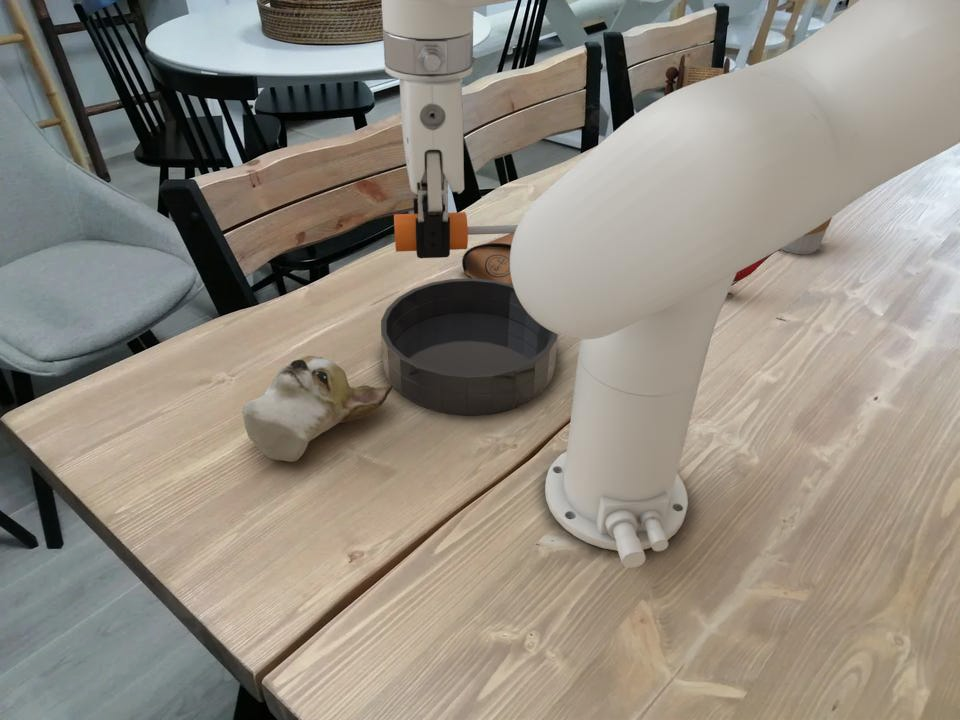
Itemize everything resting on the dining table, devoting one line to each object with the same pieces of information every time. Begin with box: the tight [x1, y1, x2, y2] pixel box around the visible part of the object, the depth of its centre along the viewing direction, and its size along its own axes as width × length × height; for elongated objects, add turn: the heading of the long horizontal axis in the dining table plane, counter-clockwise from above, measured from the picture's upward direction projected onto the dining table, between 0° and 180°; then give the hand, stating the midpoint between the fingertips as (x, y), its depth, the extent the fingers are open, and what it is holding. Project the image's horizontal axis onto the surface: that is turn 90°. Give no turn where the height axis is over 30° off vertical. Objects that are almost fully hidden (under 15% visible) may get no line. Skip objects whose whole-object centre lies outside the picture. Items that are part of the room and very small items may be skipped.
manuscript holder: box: [663, 54, 731, 96], centre depth 120 cm, size 15×15×20 cm
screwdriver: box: [393, 211, 518, 253], centre depth 73 cm, size 14×4×4 cm, turn 97°
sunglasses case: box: [461, 233, 515, 285], centre depth 101 cm, size 18×7×7 cm
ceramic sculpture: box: [241, 355, 393, 463], centre depth 71 cm, size 11×9×15 cm
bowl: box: [380, 277, 559, 416], centre depth 82 cm, size 19×19×5 cm
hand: (431, 244), depth 73 cm, fingers closed on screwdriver, 3 cm apart
